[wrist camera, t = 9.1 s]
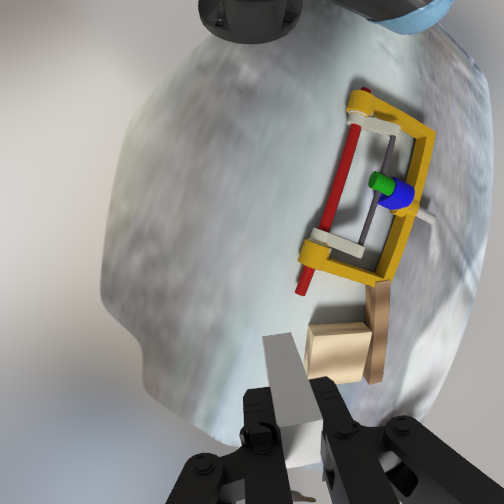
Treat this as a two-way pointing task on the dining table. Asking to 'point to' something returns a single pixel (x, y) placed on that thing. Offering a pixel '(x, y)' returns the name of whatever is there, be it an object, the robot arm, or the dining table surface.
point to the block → (337, 351)
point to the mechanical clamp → (386, 194)
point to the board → (377, 329)
